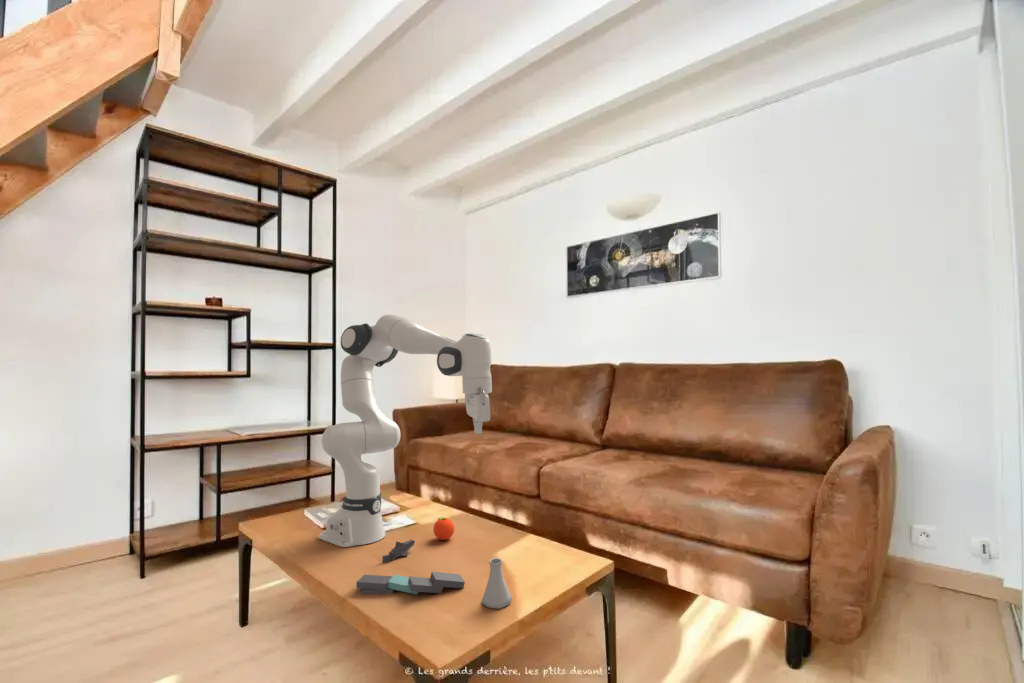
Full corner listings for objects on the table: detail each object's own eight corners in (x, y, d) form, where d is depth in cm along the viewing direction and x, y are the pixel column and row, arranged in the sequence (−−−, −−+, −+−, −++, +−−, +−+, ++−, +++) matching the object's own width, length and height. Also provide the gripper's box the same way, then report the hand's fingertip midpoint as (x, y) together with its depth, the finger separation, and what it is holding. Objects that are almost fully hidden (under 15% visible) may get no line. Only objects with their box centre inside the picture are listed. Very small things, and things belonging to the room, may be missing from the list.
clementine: (428, 538, 161) (428, 516, 162) (446, 533, 166) (446, 512, 166) (439, 545, 155) (439, 522, 155) (458, 539, 159) (458, 518, 159)
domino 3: (416, 594, 123) (387, 588, 124) (422, 586, 127) (393, 580, 129) (417, 588, 123) (388, 581, 124) (423, 580, 127) (394, 574, 129)
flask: (501, 612, 113) (500, 569, 114) (475, 604, 117) (475, 563, 118) (516, 599, 120) (516, 558, 120) (492, 592, 123) (491, 552, 124)
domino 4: (441, 593, 123) (411, 591, 120) (437, 585, 127) (407, 582, 124) (443, 587, 123) (412, 584, 120) (438, 579, 127) (409, 576, 124)
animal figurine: (388, 569, 141) (385, 553, 140) (379, 565, 144) (376, 549, 143) (420, 549, 150) (417, 533, 150) (410, 545, 153) (408, 530, 152)
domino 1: (385, 590, 123) (356, 588, 125) (392, 582, 128) (364, 580, 129) (386, 583, 124) (356, 581, 125) (392, 576, 128) (364, 574, 129)
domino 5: (463, 588, 126) (434, 585, 123) (458, 580, 130) (430, 577, 127) (464, 582, 126) (435, 579, 123) (460, 574, 130) (431, 571, 127)
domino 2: (392, 595, 124) (361, 596, 124) (396, 587, 128) (366, 588, 128) (392, 589, 124) (361, 590, 124) (396, 581, 128) (366, 582, 128)
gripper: (494, 388, 136) (495, 437, 136) (481, 385, 156) (482, 428, 156) (472, 389, 135) (473, 439, 134) (461, 385, 155) (462, 429, 154)
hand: (478, 433), depth 145 cm, fingers closed
